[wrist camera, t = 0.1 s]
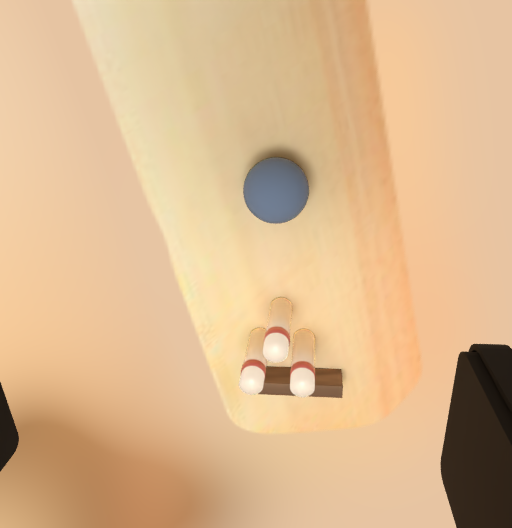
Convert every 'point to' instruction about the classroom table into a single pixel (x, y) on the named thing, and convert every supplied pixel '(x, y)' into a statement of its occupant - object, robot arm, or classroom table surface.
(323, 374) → the bar
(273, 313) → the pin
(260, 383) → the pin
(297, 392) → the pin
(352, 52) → the classroom table surface
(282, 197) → the ball
